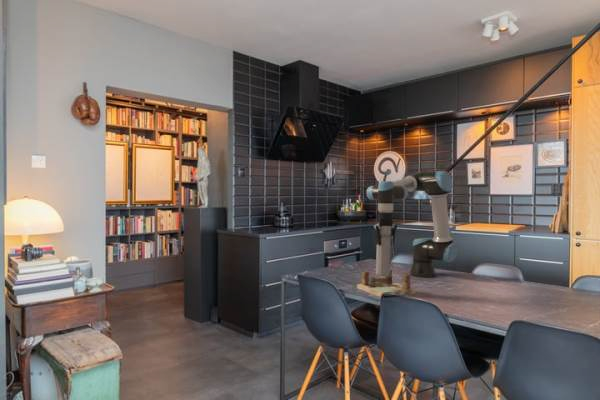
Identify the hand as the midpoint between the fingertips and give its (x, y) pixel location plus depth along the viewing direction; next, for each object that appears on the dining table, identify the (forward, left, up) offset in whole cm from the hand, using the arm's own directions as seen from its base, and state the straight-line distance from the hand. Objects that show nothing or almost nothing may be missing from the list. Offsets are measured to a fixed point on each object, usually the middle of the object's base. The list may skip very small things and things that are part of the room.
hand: (384, 258), depth 196 cm
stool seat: (-5, -6, -18) cm, 19 cm away
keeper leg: (-3, -8, -15) cm, 18 cm away
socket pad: (0, 0, -16) cm, 16 cm away
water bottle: (0, 0, -9) cm, 9 cm away
